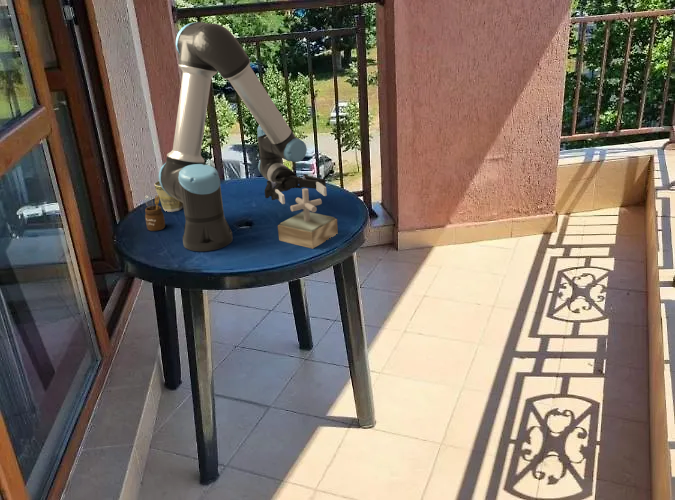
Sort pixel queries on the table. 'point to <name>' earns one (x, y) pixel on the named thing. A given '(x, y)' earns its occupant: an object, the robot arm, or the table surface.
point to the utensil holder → (154, 216)
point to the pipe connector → (306, 204)
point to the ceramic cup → (167, 199)
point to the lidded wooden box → (307, 230)
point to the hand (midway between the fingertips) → (304, 195)
